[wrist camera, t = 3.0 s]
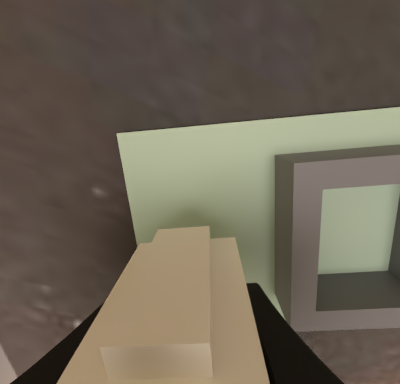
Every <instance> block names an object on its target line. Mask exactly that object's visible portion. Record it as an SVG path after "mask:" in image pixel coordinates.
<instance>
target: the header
mask: <svg viewBox="0 0 400 384" xmlns="http://www.w3.org/2000/svg"><path fill="white" fill-rule="evenodd" d="M117 139H118V144H119V150H120V155H121V161H122V166H123V172H124V177H125V183H126V188H127V194H128V199H129V205H130V210H131V215H132V221H133V226H134V232H135V237H136V243H137V247H138V245H139V244H140V243H151V242H152V241H153V238H154V236H155V234H156V232H157V230H158V229H171V228H186V227H201V226H209V228H210V239H214V238H230V237H235V239H236V243H237V247H238V252H239V256H240V260H241V264H242V268H243V273H244V277H245V281H246V283H258V284H259V285H260V286H261V288H262V289H263V291H264V292H265V294H266V295H267V297H268V298H269V299H270V301H271V302H272V304H273V305H274V306H275V307H276V309H277V310H278V311H279V313H280V314H281V315H282V317H283V318H284V319H285V320H286V321H287V323H288V324H289V325H290V326H291V327H292V329H293V330H294V331H295V332H304V331H328V330H352V329H376V328H400V107H395V108H384V109H373V110H363V111H352V112H341V113H331V114H320V115H309V116H299V117H288V118H277V119H266V120H256V121H245V122H234V123H224V124H213V125H202V126H191V127H181V128H170V129H159V130H149V131H138V132H127V133H117Z"/></svg>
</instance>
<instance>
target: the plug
mask: <svg viewBox="0 0 400 384" xmlns="http://www.w3.org/2000/svg"><path fill="white" fill-rule="evenodd" d="M57 384H270V382H269V378H268V373H267V369H266V365H265V361H264V357H263V352H262V348H261V344H260V340H259V336H258V331H257V327H256V323H255V319H254V315H253V310H252V306H251V302H250V298H249V294H248V289H247V285H246V281H245V277H244V273H243V268H242V264H241V260H240V256H239V252H238V247H237V243H236V239H235V237H230V238H214V239H210V228H209V226H201V227H186V228H171V229H158V230H157V232H156V234H155V236H154V238H153V241H152V242H151V243H140V244H139V245H138V247H137V249H136V250H135V252H134V254H133V256H132V257H131V259H130V261H129V262H128V264H127V266H126V267H125V269H124V271H123V272H122V274H121V276H120V277H119V279H118V281H117V282H116V284H115V286H114V288H113V289H112V291H111V293H110V294H109V296H108V298H107V299H106V301H105V303H104V304H103V306H102V308H101V309H100V311H99V313H98V315H97V316H96V318H95V320H94V321H93V323H92V325H91V326H90V328H89V330H88V331H87V333H86V335H85V336H84V338H83V340H82V342H81V343H80V345H79V347H78V348H77V350H76V352H75V353H74V355H73V357H72V358H71V360H70V362H69V363H68V365H67V367H66V368H65V370H64V372H63V374H62V375H61V377H60V379H59V380H58V382H57Z"/></svg>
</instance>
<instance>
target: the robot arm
mask: <svg viewBox="0 0 400 384" xmlns="http://www.w3.org/2000/svg"><path fill="white" fill-rule="evenodd" d="M246 285H247V289H248V294H249V298H250V302H251V306H252V310H253V315H254V319H255V323H256V327H257V331H258V336H259V340H260V344H261V348H262V352H263V357H264V361H265V365H266V369H267V373H268V378H269V382H270V384H344V383H343V382H342V381H341V380H340V379H339V378H338V377H337V376H336V375H335V374H334V373H333V372H332V371H331V370H330V369H329V368H328V367H327V366H326V365H325V364H324V363H323V362H322V361H321V360H320V359H319V358H318V357H317V356H316V355H315V353H314V352H313V351H312V350H311V349H310V348H309V347H308V346H307V345H306V344H305V343H304V341H303V340H302V339H301V338H300V337H299V336H298V335H297V333H296V332H295V331H294V330H293V329H292V327H291V326H290V325H289V324H288V323H287V321H286V320H285V319H284V318H283V317H282V315H281V314H280V313H279V311H278V310H277V309H276V307H275V306H274V305H273V304H272V302H271V301H270V299H269V298H268V297H267V295H266V294H265V292H264V291H263V289H262V288H261V286H260V285H259V284H258V283H246ZM104 303H105V302H104ZM104 303H103V304H104ZM103 304H102V305H101V306H99V307H98V308H97V309H96V310H95V311H94V312H93V313H92V314H91V315H90V316H89V317H88V318H87V319H86V320H84V321H83V322H82V323H81V324H80V325H79V326H78V327H77V328H76V329H75V330H74V331H72V332H71V333H70V334H69V335H68V336H67V337H66V338H65V339H63V340H62V341H61V342H60V343H59V344H58V345H56V346H55V347H54V348H53V349H52V350H51V351H49V352H48V353H47V354H46V355H45V356H44V357H43V358H41V359H40V360H39V361H38V362H37V363H35V364H34V365H33V366H32V367H31V368H29V369H28V370H27V371H26V372H24V373H23V374H22V375H21V376H19V377H18V378H17V379H16V380H14V381H13V382H12V383H10V384H57V382H58V380H59V379H60V377H61V375H62V374H63V372H64V370H65V368H66V367H67V365H68V363H69V362H70V360H71V358H72V357H73V355H74V353H75V352H76V350H77V348H78V347H79V345H80V343H81V342H82V340H83V338H84V336H85V335H86V333H87V331H88V330H89V328H90V326H91V325H92V323H93V321H94V320H95V318H96V316H97V315H98V313H99V311H100V309H101V308H102V306H103Z"/></svg>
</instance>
